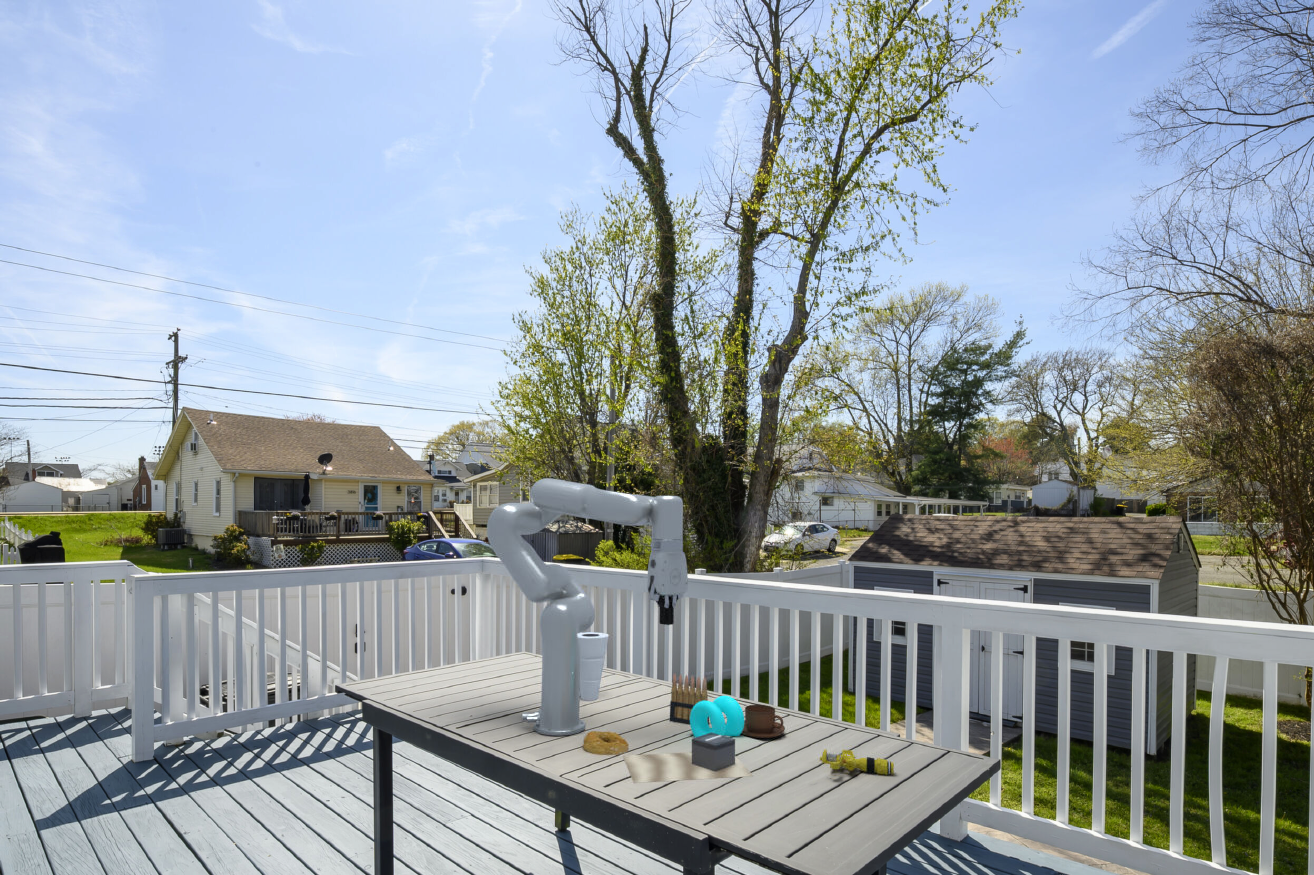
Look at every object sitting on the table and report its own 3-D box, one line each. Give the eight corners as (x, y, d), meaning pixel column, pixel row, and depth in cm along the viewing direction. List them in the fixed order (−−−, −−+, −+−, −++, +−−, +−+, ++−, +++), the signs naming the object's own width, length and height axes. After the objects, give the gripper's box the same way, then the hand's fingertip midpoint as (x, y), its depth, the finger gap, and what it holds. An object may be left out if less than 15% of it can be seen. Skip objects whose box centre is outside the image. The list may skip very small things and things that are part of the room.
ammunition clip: (709, 725, 180) (709, 677, 182) (706, 727, 179) (706, 678, 180) (672, 719, 186) (673, 672, 187) (669, 721, 184) (669, 673, 186)
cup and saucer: (787, 729, 178) (787, 704, 179) (782, 744, 167) (782, 717, 167) (739, 725, 181) (739, 700, 182) (731, 739, 170) (731, 712, 171)
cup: (566, 696, 209) (567, 633, 211) (600, 692, 213) (601, 631, 216) (577, 704, 199) (579, 639, 201) (613, 701, 204) (614, 636, 206)
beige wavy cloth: (633, 790, 136) (633, 782, 137) (622, 763, 152) (622, 755, 152) (753, 783, 141) (753, 775, 141) (730, 757, 156) (730, 750, 157)
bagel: (601, 767, 150) (601, 743, 151) (573, 753, 159) (574, 731, 159) (638, 757, 156) (639, 735, 157) (610, 745, 165) (610, 723, 165)
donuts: (687, 741, 167) (687, 697, 168) (714, 733, 174) (715, 691, 175) (719, 751, 160) (719, 706, 161) (747, 742, 167) (746, 698, 168)
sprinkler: (895, 764, 140) (817, 755, 144) (895, 786, 139) (817, 776, 143) (891, 749, 158) (822, 740, 162) (891, 768, 157) (822, 759, 161)
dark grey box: (715, 771, 143) (715, 744, 144) (691, 763, 148) (691, 737, 148) (735, 764, 148) (735, 738, 148) (711, 756, 152) (711, 731, 153)
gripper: (656, 548, 164) (655, 629, 162) (699, 546, 175) (698, 622, 173) (634, 546, 170) (633, 625, 167) (676, 545, 180) (676, 619, 178)
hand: (666, 623), depth 170 cm, fingers closed
